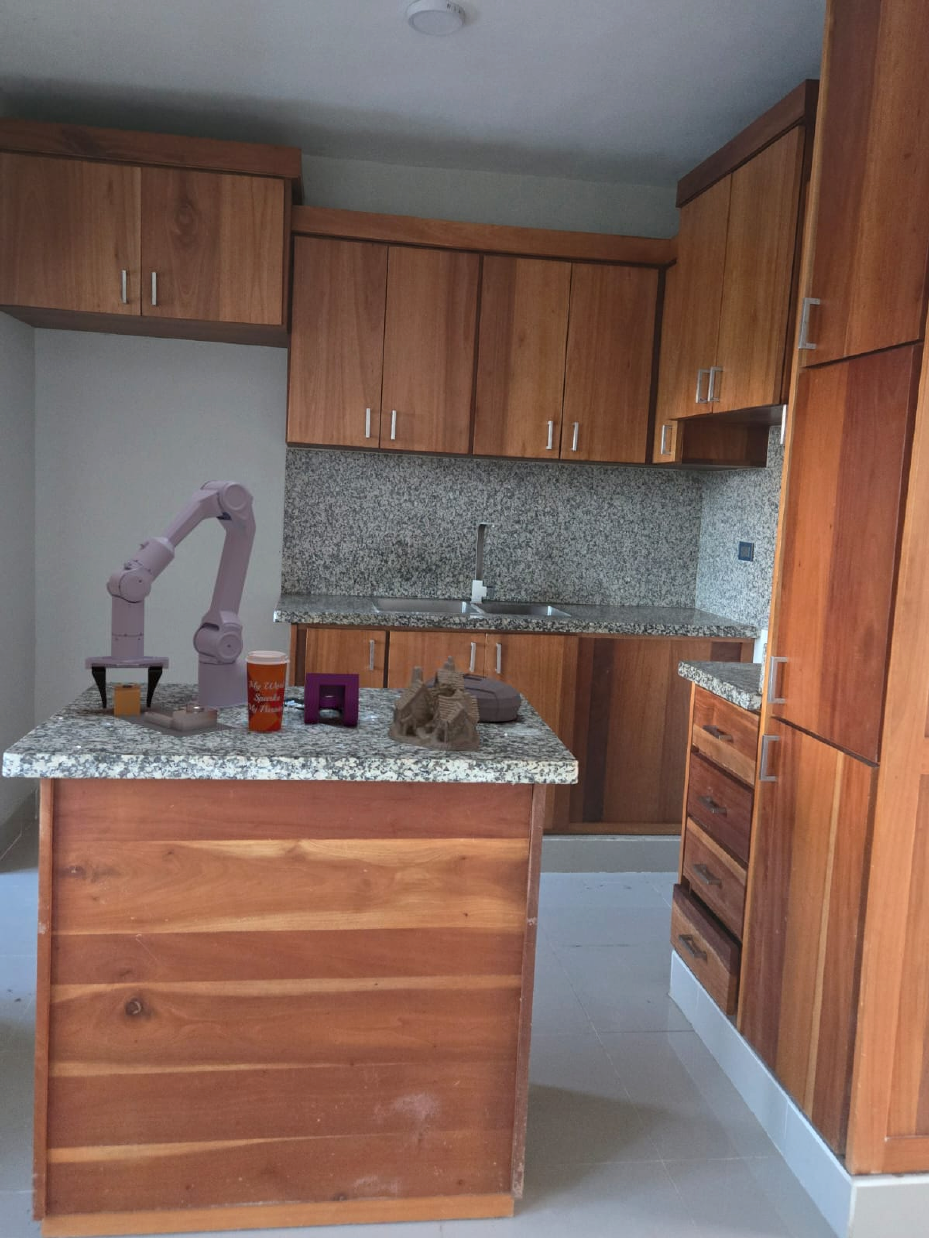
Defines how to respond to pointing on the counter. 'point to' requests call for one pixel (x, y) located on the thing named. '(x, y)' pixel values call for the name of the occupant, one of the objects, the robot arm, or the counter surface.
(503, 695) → the grey rounded bag
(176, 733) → the mat
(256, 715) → the paper cup
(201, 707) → the sliding latch
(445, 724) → the ceramic cottage
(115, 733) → the counter surface
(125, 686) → the block
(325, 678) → the mounting bracket
